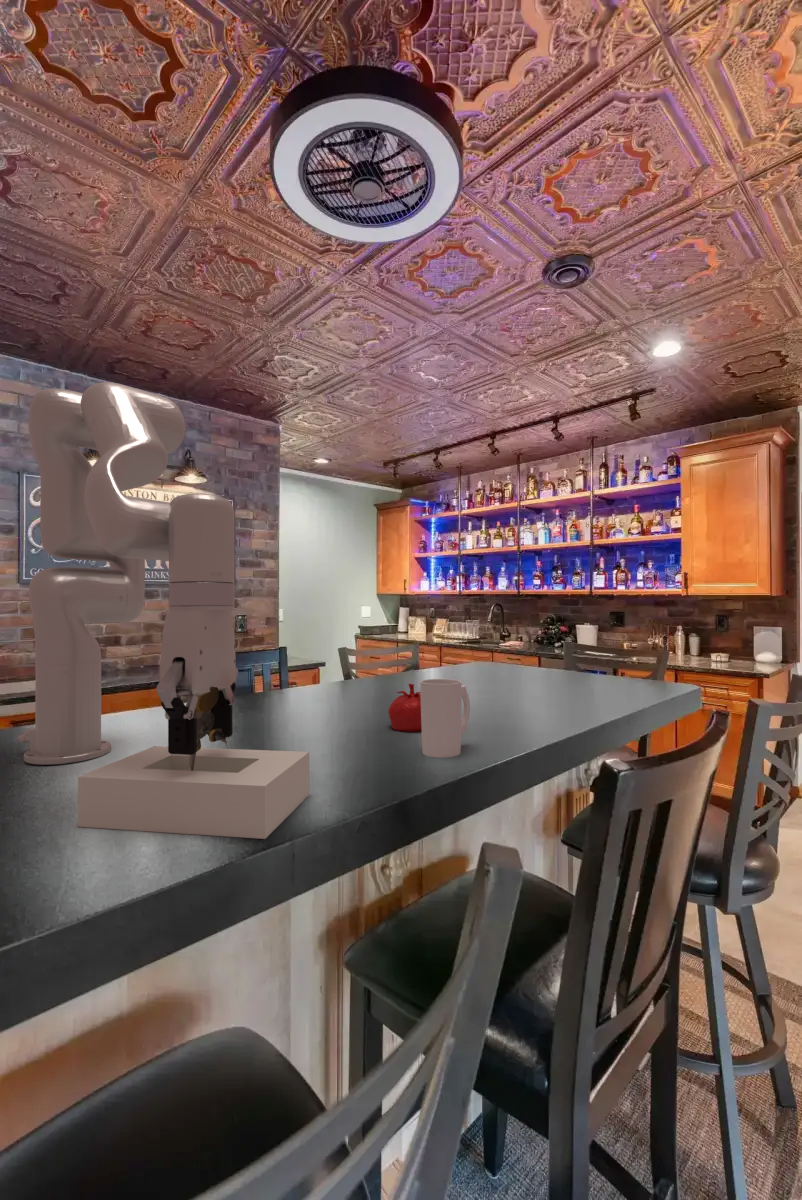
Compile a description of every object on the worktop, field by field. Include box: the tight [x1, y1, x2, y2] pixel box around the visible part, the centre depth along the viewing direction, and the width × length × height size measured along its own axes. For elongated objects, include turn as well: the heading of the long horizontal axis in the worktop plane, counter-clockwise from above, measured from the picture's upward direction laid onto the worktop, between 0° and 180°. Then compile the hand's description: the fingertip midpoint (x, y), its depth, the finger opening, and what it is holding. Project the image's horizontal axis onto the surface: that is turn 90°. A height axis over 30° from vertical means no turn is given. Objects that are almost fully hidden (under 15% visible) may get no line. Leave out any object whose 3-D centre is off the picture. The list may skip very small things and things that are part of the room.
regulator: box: [189, 687, 228, 771], centre depth 66 cm, size 8×4×15 cm, turn 63°
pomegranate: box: [387, 683, 422, 733], centre depth 109 cm, size 10×10×9 cm
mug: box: [419, 678, 471, 759], centre depth 92 cm, size 10×7×12 cm, turn 129°
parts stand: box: [77, 745, 310, 840], centre depth 67 cm, size 22×14×6 cm, turn 80°
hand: (202, 743), depth 67 cm, fingers open, 8 cm apart
